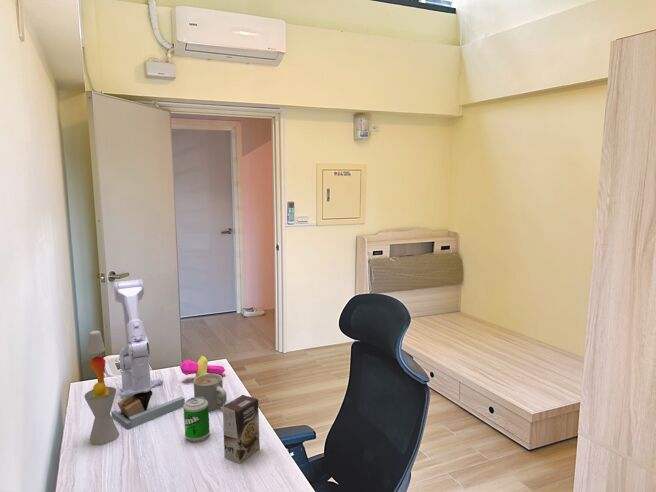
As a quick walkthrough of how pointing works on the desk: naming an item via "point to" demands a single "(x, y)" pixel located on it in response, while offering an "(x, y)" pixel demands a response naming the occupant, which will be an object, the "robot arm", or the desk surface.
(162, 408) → the grey j-shaped hook
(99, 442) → the lava lamp
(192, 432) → the soda can
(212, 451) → the desk surface
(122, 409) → the cardboard box
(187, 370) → the toy
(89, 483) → the desk surface
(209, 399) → the coffee mug
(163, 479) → the desk surface
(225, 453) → the coffee box
